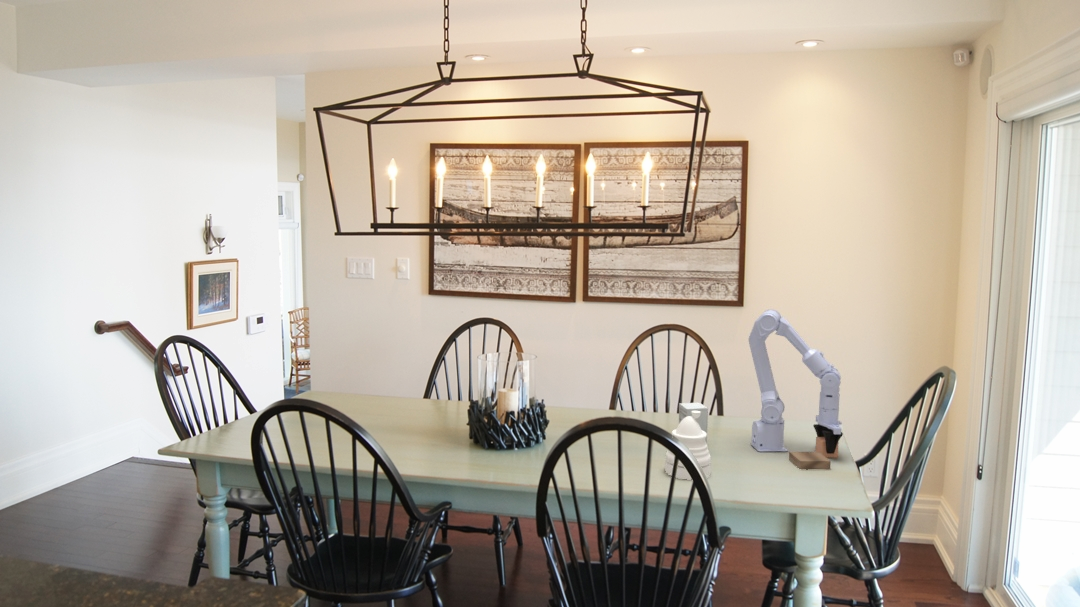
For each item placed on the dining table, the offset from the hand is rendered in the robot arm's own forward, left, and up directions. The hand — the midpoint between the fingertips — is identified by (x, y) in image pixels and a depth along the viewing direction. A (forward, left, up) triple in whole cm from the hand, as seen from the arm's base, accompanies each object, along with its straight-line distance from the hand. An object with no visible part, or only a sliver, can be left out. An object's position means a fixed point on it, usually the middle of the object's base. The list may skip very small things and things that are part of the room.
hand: (826, 450), depth 237 cm
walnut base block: (-9, -9, -2) cm, 13 cm away
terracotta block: (0, 0, -1) cm, 1 cm away
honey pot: (-47, -15, -2) cm, 49 cm away
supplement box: (-39, +13, -2) cm, 41 cm away
